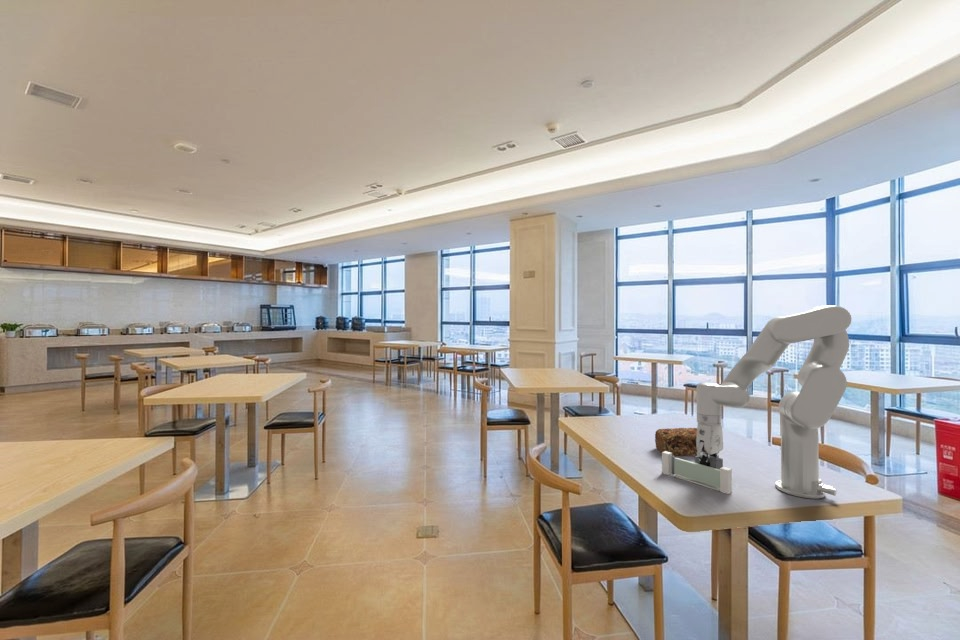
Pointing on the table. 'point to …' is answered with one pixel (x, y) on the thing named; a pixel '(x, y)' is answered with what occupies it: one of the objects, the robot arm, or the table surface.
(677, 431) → the bread
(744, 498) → the table surface
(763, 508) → the table surface
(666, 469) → the door frame
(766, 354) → the robot arm
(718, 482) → the door
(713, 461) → the block
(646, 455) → the table surface
